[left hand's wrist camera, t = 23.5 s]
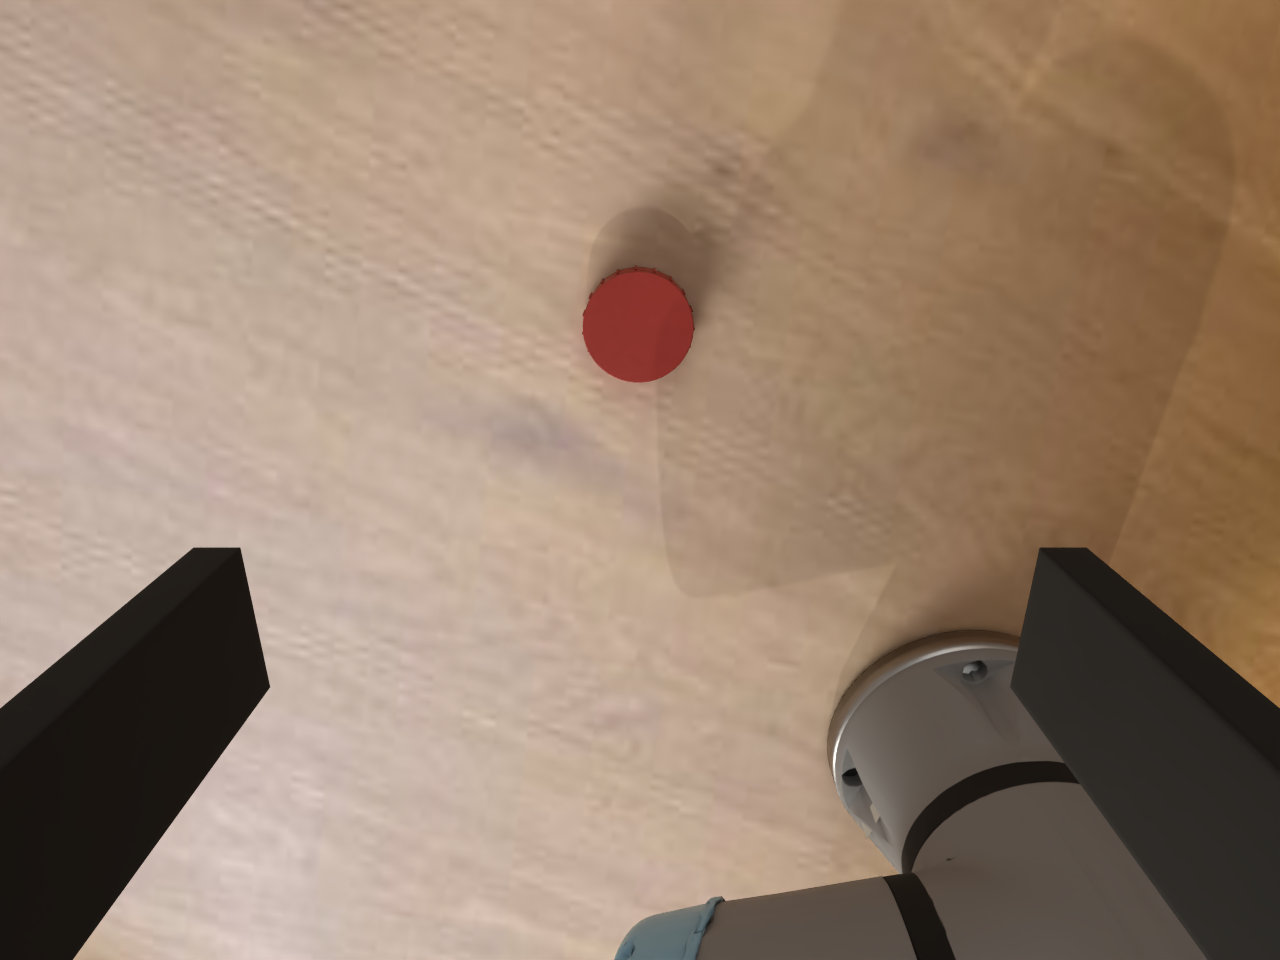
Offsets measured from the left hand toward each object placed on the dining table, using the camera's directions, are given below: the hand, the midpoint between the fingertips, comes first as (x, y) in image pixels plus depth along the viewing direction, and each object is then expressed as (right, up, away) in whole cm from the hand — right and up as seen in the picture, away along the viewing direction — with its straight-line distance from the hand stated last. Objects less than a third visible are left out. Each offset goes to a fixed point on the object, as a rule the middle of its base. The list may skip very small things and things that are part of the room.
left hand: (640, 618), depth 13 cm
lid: (0, +9, +23) cm, 25 cm away
